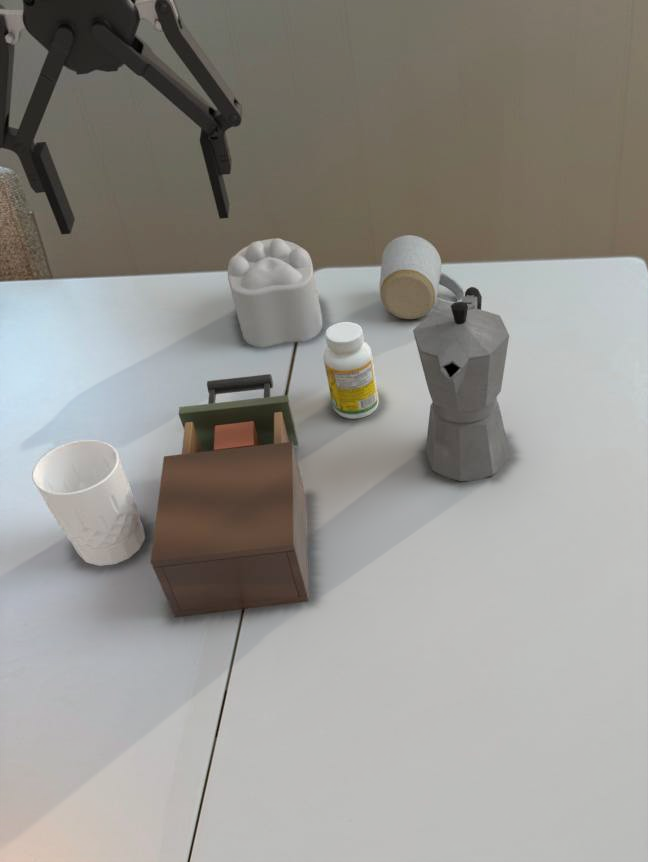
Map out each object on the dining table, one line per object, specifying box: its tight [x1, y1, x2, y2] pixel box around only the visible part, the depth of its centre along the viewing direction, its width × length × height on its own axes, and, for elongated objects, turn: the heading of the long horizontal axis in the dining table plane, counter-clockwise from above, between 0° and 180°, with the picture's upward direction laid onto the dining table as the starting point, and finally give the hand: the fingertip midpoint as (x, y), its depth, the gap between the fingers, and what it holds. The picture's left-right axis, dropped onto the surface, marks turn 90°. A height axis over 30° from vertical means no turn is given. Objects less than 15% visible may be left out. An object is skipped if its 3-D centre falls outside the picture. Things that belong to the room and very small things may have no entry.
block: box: [214, 421, 260, 451], centre depth 97 cm, size 4×4×4 cm
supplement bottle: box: [323, 321, 380, 420], centre depth 104 cm, size 5×5×10 cm
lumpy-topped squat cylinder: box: [227, 237, 323, 348], centre depth 117 cm, size 10×13×9 cm
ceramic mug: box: [379, 234, 466, 320], centre depth 117 cm, size 11×8×8 cm
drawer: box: [178, 373, 299, 454], centre depth 98 cm, size 20×11×6 cm, turn 8°
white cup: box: [31, 439, 146, 567], centre depth 90 cm, size 8×8×10 cm
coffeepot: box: [412, 286, 511, 482], centre depth 95 cm, size 15×9×18 cm, turn 171°
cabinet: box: [149, 442, 310, 618], centre depth 90 cm, size 15×13×8 cm
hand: (147, 219), depth 82 cm, fingers open, 13 cm apart
